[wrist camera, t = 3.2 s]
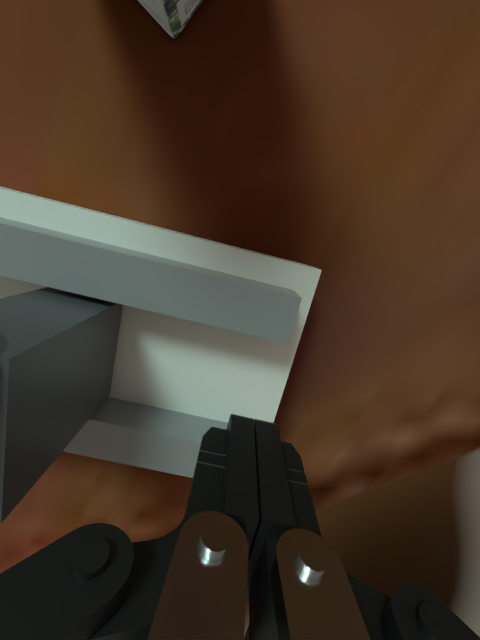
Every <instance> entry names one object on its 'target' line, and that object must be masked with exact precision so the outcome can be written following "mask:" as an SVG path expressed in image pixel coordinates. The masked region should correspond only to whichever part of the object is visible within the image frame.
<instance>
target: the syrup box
mask: <svg viewBox="0 0 480 640" xmlns="http://www.w3.org/2000/svg"><path fill="white" fill-rule="evenodd" d="M138 2H139V3H140V4H141V5H142V6H143V7H144V8H145V9H146V10H147V11H148V12H149V14H150V15H151V16H152V17H153V18H154V19H155V20H156V21H157V22H158V23H159V24H160V25H161V27H162V28H163V29H164V30H165V31H166V32H167V33H168V34H169V35H170V36H171V37H172V38H176V37H177V36H178V35H179V34H180V32H181V31H182V30H183V28H184V27H185V26H186V24H187V23H188V22H189V20H190V19H191V17H192V16H193V14H194V13H195V12H196V10H197V9H198V8H199V6H200V5H201V4H202V2H203V0H138Z"/></svg>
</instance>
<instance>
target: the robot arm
mask: <svg viewBox="0 0 480 640" xmlns="http://www.w3.org/2000/svg"><path fill="white" fill-rule="evenodd" d="M246 602H249V625H248V628H247V630H246V634H245V637H244V627H245V610H246ZM0 640H480V638H479V636H477V635H476V634H475V633H474V632H473V631H472V630H471V629H470V628H469V627H468V626H467V625H466V624H465V623H464V622H463V621H462V620H461V619H460V618H459V617H458V616H456V615H455V614H454V613H453V612H452V611H451V610H450V609H449V608H448V607H447V606H446V605H445V604H444V603H443V602H441V601H440V600H439V599H438V598H436V597H435V596H434V595H432V594H431V593H429V592H428V591H426V590H424V589H422V588H420V587H417V586H414V585H401V586H399V587H397V588H396V589H395V590H394V592H393V594H392V596H391V598H390V597H388V596H387V595H385V594H383V593H381V592H379V591H377V590H376V589H374V588H372V587H370V586H368V585H366V584H364V583H363V582H361V581H359V580H357V579H356V578H354V577H352V576H351V575H350V574H348V573H347V572H346V571H345V569H344V566H343V564H342V561H341V559H340V558H339V556H338V554H337V553H336V551H335V550H334V549H333V547H332V546H331V545H330V544H329V543H328V542H327V541H326V540H324V539H323V538H322V537H321V533H320V529H319V525H318V522H317V518H316V514H315V510H314V506H313V502H312V499H311V495H310V491H309V487H308V486H307V479H306V476H305V474H304V468H303V464H302V460H301V457H300V455H299V454H298V453H297V451H296V450H295V448H294V447H293V446H292V444H291V443H286V442H281V440H280V435H279V429H278V425H277V424H276V423H272V422H267V421H263V420H258V419H253V418H248V417H244V416H239V415H235V414H231V415H230V418H229V421H228V425H227V429H226V430H225V429H221V428H216V427H211V428H210V429H209V430H208V431H207V432H206V433H205V434H204V435H203V437H202V441H201V445H200V450H199V454H198V458H197V462H196V466H195V470H194V475H193V479H192V484H191V488H190V493H189V498H188V502H187V507H186V512H185V516H184V519H183V520H182V522H181V523H180V525H179V526H178V527H177V528H176V529H174V530H173V531H172V532H170V533H169V534H167V535H165V536H163V537H160V538H158V539H153V540H148V541H141V542H135V543H131V541H130V539H129V537H128V536H127V535H126V533H125V532H124V531H122V530H121V529H120V528H118V527H116V526H114V525H110V524H105V523H95V524H89V525H85V526H82V527H80V528H77V529H75V530H73V531H72V532H70V533H68V534H66V535H65V536H63V537H61V538H60V539H58V540H56V541H55V542H53V543H51V544H50V545H48V546H46V547H45V548H43V549H41V550H39V551H38V552H36V553H34V554H33V555H31V556H29V557H28V558H26V559H24V560H23V561H21V562H19V563H18V564H16V565H14V566H12V567H11V568H9V569H7V570H6V571H4V572H2V573H1V574H0Z"/></svg>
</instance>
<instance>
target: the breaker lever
mask: <svg viewBox="0 0 480 640" xmlns="http://www.w3.org/2000/svg"><path fill="white" fill-rule="evenodd" d="M122 308H123V305H122V304H118V303H114V302H110V301H105V300H101V299H97V298H93V297H88V296H84V295H80V294H76V293H72V292H67V291H63V290H59V289H55V288H50V287H46V288H42V289H38V290H33V291H29V292H25V293H21V294H17V295H13V296H9V297H4V298H0V523H2V522H3V521H4V520H5V518H6V517H7V516H8V515H9V514H10V512H11V511H12V510H13V509H14V508H15V507H16V505H17V504H18V503H19V502H20V501H21V499H22V498H23V497H24V496H25V495H26V494H27V492H28V491H29V490H30V489H31V488H32V486H33V485H34V484H35V483H36V482H37V481H38V479H39V478H40V477H41V476H42V475H43V473H44V472H45V471H46V470H47V469H48V467H49V466H50V465H51V464H52V463H53V462H54V460H55V459H56V458H57V457H58V456H59V454H60V453H61V452H62V451H63V450H64V449H65V447H66V446H67V445H68V444H69V443H70V441H71V440H72V439H73V438H74V437H75V436H76V434H77V433H78V432H79V431H80V430H81V428H82V427H83V426H84V425H85V424H86V423H87V421H88V420H89V419H90V418H91V417H92V415H93V414H94V413H95V412H96V411H97V409H98V408H99V407H100V406H101V405H102V404H103V402H104V401H105V400H106V399H107V398H108V396H109V395H110V389H111V382H112V376H113V369H114V362H115V355H116V349H117V342H118V335H119V329H120V322H121V315H122Z"/></svg>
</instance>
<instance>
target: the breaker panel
mask: <svg viewBox="0 0 480 640" xmlns="http://www.w3.org/2000/svg"><path fill="white" fill-rule="evenodd" d="M321 271H322V270H321V269H318V268H315V267H312V266H309V265H306V264H303V263H299V262H295V261H291V260H287V259H283V258H279V257H275V256H271V255H267V254H263V253H259V252H255V251H252V250H248V249H244V248H240V247H236V246H232V245H228V244H224V243H220V242H216V241H212V240H208V239H205V238H201V237H197V236H193V235H189V234H185V233H181V232H177V231H173V230H169V229H165V228H161V227H158V226H154V225H150V224H146V223H142V222H138V221H134V220H130V219H126V218H122V217H118V216H114V215H111V214H107V213H103V212H99V211H95V210H91V209H87V208H83V207H79V206H75V205H71V204H67V203H63V202H60V201H56V200H52V199H48V198H44V197H40V196H36V195H32V194H28V193H24V192H20V191H16V190H13V189H9V188H5V187H1V186H0V298H4V297H9V296H13V295H17V294H21V293H25V292H29V291H33V290H38V289H42V288H46V287H50V288H55V289H59V290H63V291H67V292H72V293H76V294H80V295H84V296H88V297H93V298H97V299H101V300H105V301H110V302H114V303H118V304H122V305H123V308H122V315H121V322H120V329H119V335H118V342H117V349H116V355H115V362H114V369H113V376H112V382H111V389H110V395H109V396H108V398H107V399H106V400H105V401H104V402H103V404H102V405H101V406H100V407H99V408H98V409H97V411H96V412H95V413H94V414H93V415H92V417H91V418H90V419H89V420H88V421H87V423H86V424H85V425H84V426H83V427H82V428H81V430H80V431H79V432H78V433H77V434H76V436H75V437H74V438H73V439H72V440H71V441H70V443H69V444H68V445H67V446H66V447H65V449H64V450H63V451H62V452H67V453H72V454H77V455H82V456H87V457H92V458H97V459H102V460H107V461H111V462H116V463H121V464H126V465H131V466H136V467H141V468H146V469H151V470H156V471H160V472H165V473H170V474H175V475H180V476H185V477H190V478H193V475H194V470H195V466H196V462H197V458H198V454H199V450H200V445H201V441H202V437H203V435H204V434H205V433H206V432H207V431H208V430H209V429H210V428H211V427H216V428H221V429H225V430H226V429H227V425H228V421H229V418H230V415H231V414H235V415H239V416H244V417H248V418H253V419H258V420H263V421H267V422H272V423H274V420H275V416H276V413H277V410H278V407H279V404H280V401H281V397H282V394H283V391H284V388H285V385H286V382H287V378H288V375H289V372H290V369H291V366H292V363H293V359H294V356H295V353H296V350H297V347H298V344H299V340H300V337H301V334H302V331H303V328H304V325H305V322H306V318H307V315H308V312H309V309H310V306H311V303H312V299H313V296H314V293H315V290H316V287H317V284H318V280H319V277H320V274H321Z"/></svg>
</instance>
